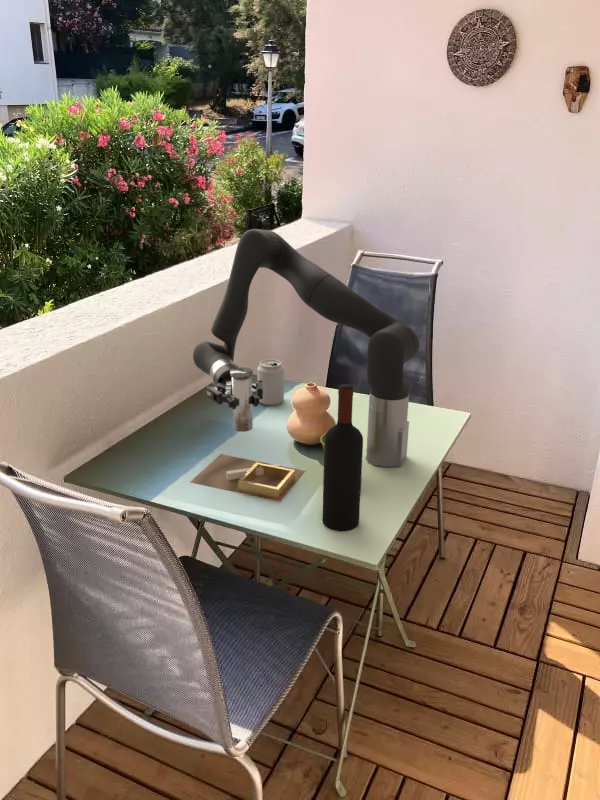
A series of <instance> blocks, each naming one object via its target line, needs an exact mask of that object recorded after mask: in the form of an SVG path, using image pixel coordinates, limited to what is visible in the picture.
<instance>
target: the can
mask: <svg viewBox="0 0 600 800" xmlns="http://www.w3.org/2000/svg"><path fill="white" fill-rule="evenodd" d="M282 364H283V363H282V362H281V361H280V360H279V359H272V358H270V359H269V358H268V359H263V360H261V361H260V362H259V365H258V367H257V368H256V369H257V382H258V381H259V380H262V381H263V399H259V402H260V403H261V404H262V405H264V406H270V407H271V406H277V404H278V405H279V403H280V404H281V403H282V402H283V401H284V398H285V397H284V396H285V394H284V393H285V367H284V366H283V365H282Z"/></svg>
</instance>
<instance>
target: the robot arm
mask: <svg viewBox="0 0 600 800" xmlns="http://www.w3.org/2000/svg"><path fill="white" fill-rule="evenodd" d="M260 268H263V269H268V270H271V271H272V272H274V273H276V274H278V276H280V277H282V278H283V279H284V280H286V281H287V282H289V284H290V285H291V286H292V288H293V289H294V291H295V292H296V294H297V295H298V297H299V299H301V301H302V302H303V303H304V304H305V305H306V306H307V307H309V308H310V309H311V310H313V311H315V313H316V314H318V315H319V316H321V317H323V318H324V319H325V320H328V321H331V322H333V323H336V324H339V325H342V326H344V327H348V328H351V329H354V330H356V331H358V332H360V333H362V334H364V335H366V336H367V337H368V338H370V339H369V341H368V344H367V350H366V351H367V353H366V378H367V383H368V385H369V399H368V417H367V435H366V436H367V437H366V454H365V455H366V456H365V459H366V461H368V463H370V464H372V465H375V466H377V467H383V468H392V467H393V468H394V467H398V468H401V467H402V465H403V463H404V462H405V461H406V458H407V455H408V442H409V428H410V427H409V426H410V421H408V415H409V414H408V413H409V412H408V411H409V403H410V402H409V401H410V400H409V399H410V389H411V388H410V386H411V385H410V383H409V381H408V380H407V379H406V378H404V364H405V363H407V362H408V361H410V360H412V359H413V358H415V357H416V356H417V354H418V352H419V349H420V341H419V338H418V335H417V334H416V332H415V330H413V329H412V327H410V326H409V325H408V324H405V322H403V321H401V320H399V319H397V318H395V317H394V316H392V315H391V314H389V313H386V312H385V311H383V310H381V309H380V308H378V307H377V306H375V305H374V304H372V303H371V302H369V301H368V300H366V298H364V297H362V296H361V295H360V294H359V293H357V292H356V291H354V290H353V289H352V288H350V287H349V286H347V285H346V284H344V282H342V281H340V279H338V278H337V277H335V275H333V274H331V273H330V272H327V271H326V270H325V269H323V268H322V267H321V266H318V264H316V263H314V262H312V261H311V260H309V259H307V258H306V257H305V256H303V255H302V254H301V253H299V252H298V250H297V249H295V248H294V247H293V246H291V245H290V243H289V242H287V241H286V240H285V239H284V237H282V236H281V235H279V234H278V232H275V231H272V230H269V229H259V228H252V229H251V228H250V229H248V230H246V231H244V232H243V234H242V235H241V236H240V238H239V241H238V243H237V246H236V249H235V254H234V257H233V262H232V266H231V269H230V274H229V277H228V282H227V286H226V289H225V292H224V296H223V298H222V302H221V304H220V306H219V308H218V310H217V314H216V316H215V317H214V320H213V323H212V326H211V330H210V331H211V333H212V335H213V336H214V337H215V338H217V339H218V340H220V341H222V342H223V343H224V344H223V345H221V344H217V343H214V342H210V341H205V340H204V341H201V342H199V343H197V344H196V346H195V347H194V349H193V353H192V359H193V362H194V364H195V366H196V367H197V369H199V370H201V371H202V372H203V373H205V374H206V375H208V376H209V378H210V380H211V383H212V385H213V386H214V387H213V386H212V385H208V386H206V397H207V398H208V399H209V400H211V401H213V402H215V404H217V405H223V403H225V404H226V405H227V406H228V408H231V409H232V410H233V409H236V400H235V398H234V397H233V396H232V377H231V376H230V371H231V370H232V369H234V368H240V367H239V366H238V364H237V363H236V362H234V360H235V359H234V358H235V348H236V344H237V339H238V336H239V334H240V332H241V329H242V327H243V325H244V322H245V320H246V317H247V313H248V310H249V295H250V294H249V292H250V287H251V284H252V281H253V279H254V277H255V275H256V273H257V272H258V271H259V269H260ZM259 399H263V381H262V380H259V381H258V380H257V382H255V383H252V406H253V407H258V406H259V405H260V403H261V402H260V401H259Z"/></svg>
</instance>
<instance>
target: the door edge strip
mask: <svg viewBox="0 0 600 800" xmlns="http://www.w3.org/2000/svg"><path fill="white" fill-rule="evenodd" d="M273 466H278V467H283V466H284V465H283V463H275V464H274V465H273ZM249 469H250V468H246V469H239V470H232V471H226V475H227V479H228V480H231V479H238V478H242V477H243V476H244V475H245V473H246V472H247V471H248V470H249ZM259 475H264V469H263V468H257V469H256V476H259Z"/></svg>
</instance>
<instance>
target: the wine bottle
mask: <svg viewBox="0 0 600 800" xmlns="http://www.w3.org/2000/svg"><path fill="white" fill-rule="evenodd" d="M337 391H338V392H337V395H338V396H337V398H338V400H337V406H338V407H337V421H336V424H334V426H332V427H330V428H329V429H328V431H327V432H325V433H326V435H325V446H324V448H323V453H324V455H323V459H324V460H323V482H322V483H323V485H322V487H323V488H322V492H323V493H322V519H321V521H322V524H323V525H324V526H325V528H326V529H329V530H332V531H334V532H342V533H343V532H348V531H352V530H355V529H356V528H358V526H359V523H360V510H361V508H360V507H361V493H362V492H361V490H362V489H361V488H362V474H363V473H362V470H363V469H362V468H363V453H364V452H363V451H364V449H363V448H364V437H363V434H362V432H361V431H360V430H359V429H358V428H357V427H355V425H353V422H352V421H353V399H354V398H353V397H354V386H353V385H352V384H348V383H343V384H342V383H341V384H339V385H338V390H337Z"/></svg>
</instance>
